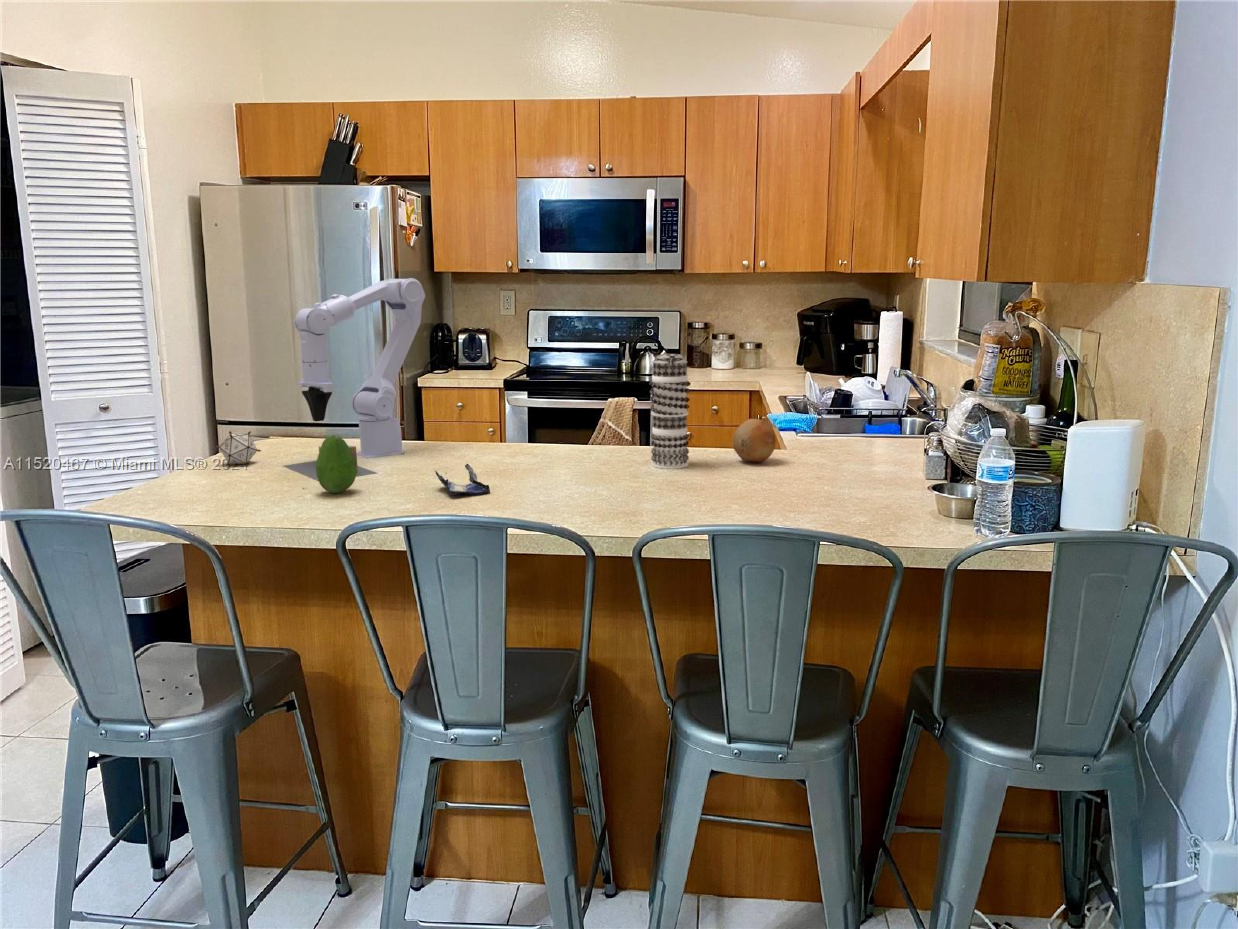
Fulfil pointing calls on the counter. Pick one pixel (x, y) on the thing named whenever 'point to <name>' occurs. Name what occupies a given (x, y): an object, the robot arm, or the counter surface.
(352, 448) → the letter cube
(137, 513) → the counter surface
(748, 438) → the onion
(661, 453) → the decorative candle
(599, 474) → the counter surface
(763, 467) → the counter surface
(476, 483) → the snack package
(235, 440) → the game die
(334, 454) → the avocado
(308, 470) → the mat
